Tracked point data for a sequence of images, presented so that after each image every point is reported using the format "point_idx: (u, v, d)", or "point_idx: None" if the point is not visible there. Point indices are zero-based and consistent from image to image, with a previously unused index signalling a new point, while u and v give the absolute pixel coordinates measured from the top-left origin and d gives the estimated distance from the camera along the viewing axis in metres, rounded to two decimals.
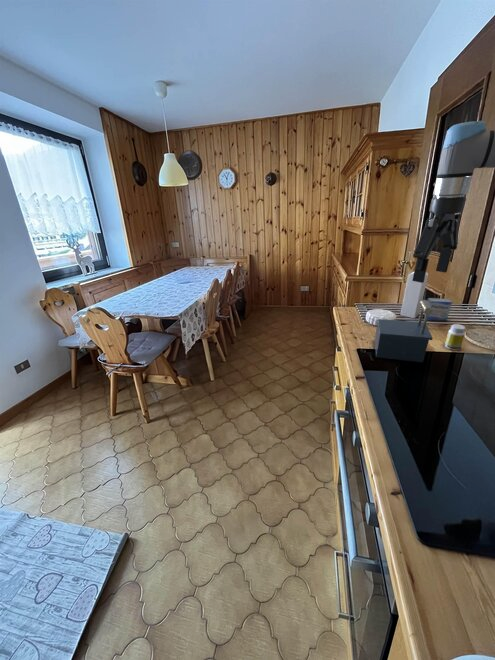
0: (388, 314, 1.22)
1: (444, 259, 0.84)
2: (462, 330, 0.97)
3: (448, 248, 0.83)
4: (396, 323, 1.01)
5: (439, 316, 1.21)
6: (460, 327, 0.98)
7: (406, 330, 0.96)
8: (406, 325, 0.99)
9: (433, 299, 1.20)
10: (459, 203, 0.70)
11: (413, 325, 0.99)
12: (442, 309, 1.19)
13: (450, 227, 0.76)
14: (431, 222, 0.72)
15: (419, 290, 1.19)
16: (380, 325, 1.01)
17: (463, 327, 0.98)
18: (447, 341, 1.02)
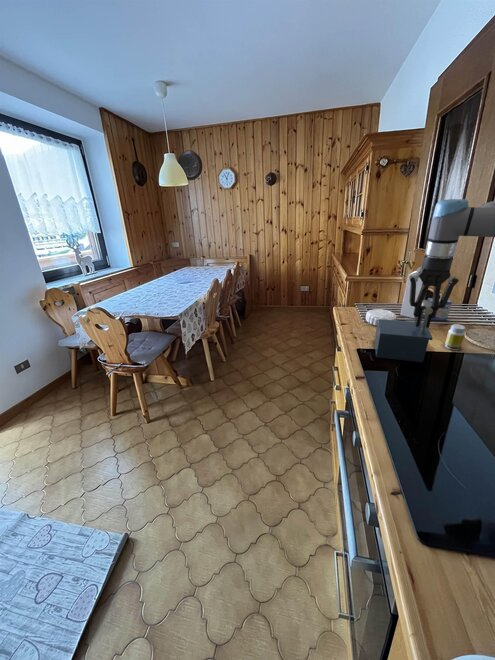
0: (388, 314, 1.22)
1: (428, 316, 0.93)
2: (462, 330, 0.97)
3: (433, 307, 0.92)
4: (396, 323, 1.01)
5: (439, 316, 1.21)
6: (460, 327, 0.98)
7: (406, 330, 0.96)
8: (406, 325, 0.99)
9: None
10: (433, 263, 0.83)
11: (413, 325, 0.99)
12: (442, 309, 1.19)
13: (436, 282, 0.87)
14: (410, 279, 0.90)
15: (419, 290, 1.19)
16: (380, 325, 1.01)
17: (463, 327, 0.98)
18: (447, 341, 1.02)
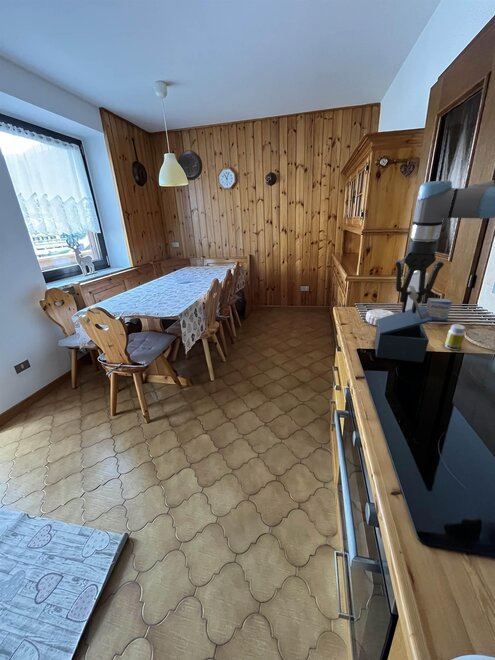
0: (388, 314, 1.22)
1: None
2: (462, 330, 0.97)
3: (419, 292, 0.91)
4: (395, 317, 1.00)
5: (439, 316, 1.21)
6: (460, 327, 0.98)
7: (405, 321, 0.95)
8: (405, 315, 0.98)
9: (433, 299, 1.20)
10: (418, 246, 0.83)
11: None
12: (442, 309, 1.19)
13: (422, 266, 0.86)
14: None
15: None
16: (379, 325, 1.01)
17: (463, 327, 0.98)
18: (447, 341, 1.02)
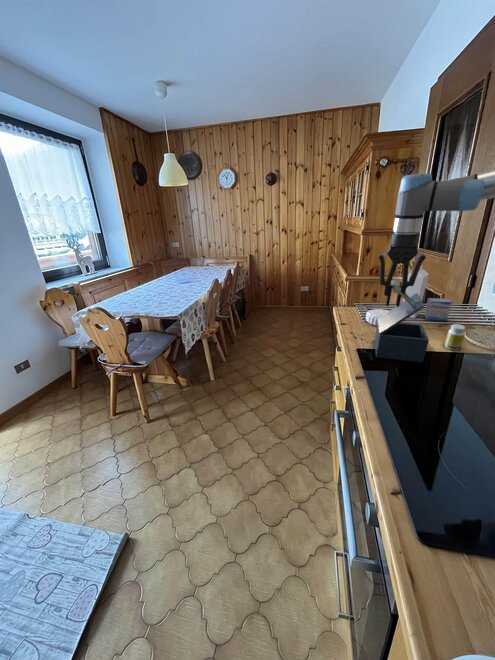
0: None
1: (398, 294, 0.93)
2: (462, 330, 0.97)
3: (402, 285, 0.92)
4: (392, 312, 1.00)
5: (439, 316, 1.21)
6: (460, 327, 0.98)
7: (400, 314, 0.94)
8: (400, 308, 0.97)
9: (433, 299, 1.20)
10: (400, 239, 0.83)
11: (406, 303, 0.96)
12: (442, 309, 1.19)
13: (404, 259, 0.87)
14: (379, 257, 0.90)
15: (419, 290, 1.19)
16: (379, 324, 1.01)
17: (463, 327, 0.98)
18: (447, 341, 1.02)
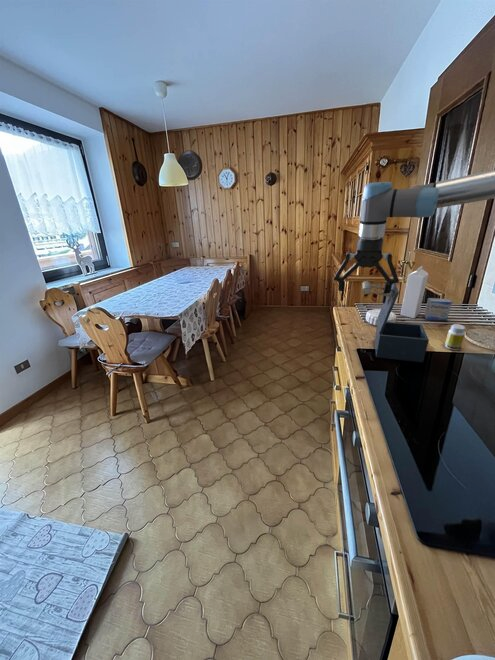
0: None
1: (384, 291, 0.94)
2: (462, 330, 0.97)
3: None
4: (383, 308, 1.00)
5: (439, 316, 1.21)
6: (460, 327, 0.98)
7: (386, 308, 0.95)
8: (386, 301, 0.98)
9: (433, 299, 1.20)
10: (364, 244, 0.87)
11: None
12: (442, 309, 1.19)
13: (372, 263, 0.90)
14: (346, 255, 0.93)
15: (419, 290, 1.19)
16: (378, 324, 1.01)
17: (463, 327, 0.98)
18: (447, 341, 1.02)
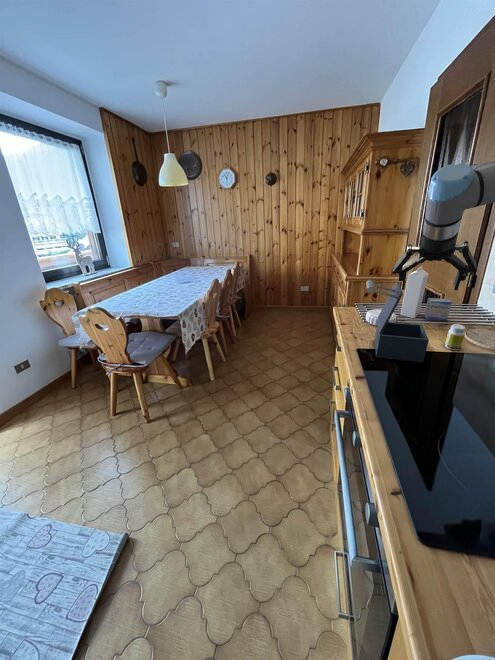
0: None
1: (456, 278, 0.81)
2: (462, 330, 0.97)
3: None
4: (384, 308, 1.00)
5: (439, 316, 1.21)
6: (460, 327, 0.98)
7: (389, 308, 0.94)
8: (388, 302, 0.98)
9: (433, 299, 1.20)
10: (431, 246, 0.71)
11: None
12: (442, 309, 1.19)
13: None
14: (407, 249, 0.78)
15: (419, 290, 1.19)
16: (378, 324, 1.01)
17: (463, 327, 0.98)
18: (447, 341, 1.02)
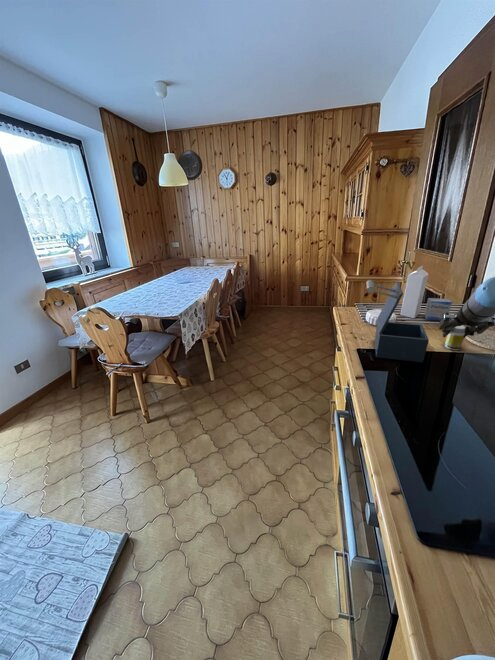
0: None
1: None
2: (462, 330, 0.97)
3: (469, 330, 0.97)
4: (384, 308, 1.00)
5: (439, 316, 1.21)
6: (460, 327, 0.98)
7: (389, 308, 0.94)
8: (388, 302, 0.98)
9: (433, 299, 1.20)
10: (467, 322, 0.85)
11: None
12: (442, 309, 1.19)
13: None
14: (444, 317, 0.93)
15: (419, 290, 1.19)
16: (378, 324, 1.01)
17: (463, 327, 0.98)
18: (447, 341, 1.02)
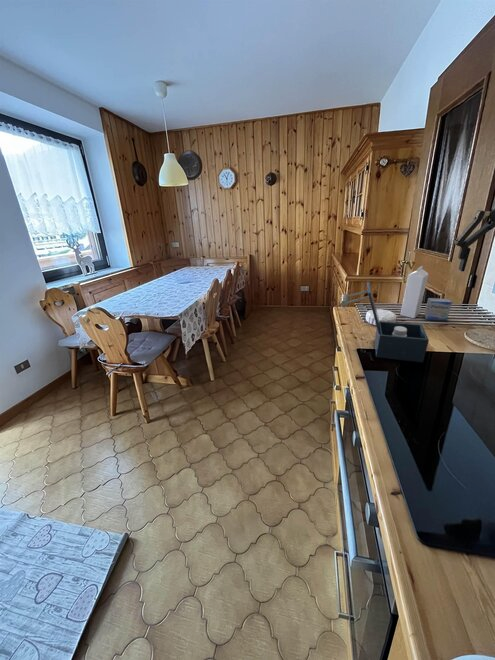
0: (388, 314, 1.22)
1: None
2: (403, 332, 0.97)
3: None
4: None
5: (439, 316, 1.21)
6: (402, 329, 0.98)
7: None
8: None
9: (433, 299, 1.20)
10: None
11: None
12: (442, 309, 1.19)
13: None
14: (477, 213, 0.76)
15: (419, 290, 1.19)
16: None
17: (405, 329, 0.98)
18: None
